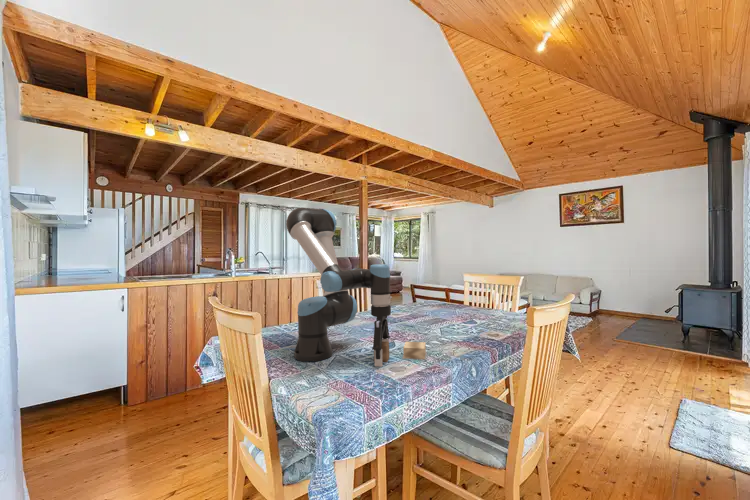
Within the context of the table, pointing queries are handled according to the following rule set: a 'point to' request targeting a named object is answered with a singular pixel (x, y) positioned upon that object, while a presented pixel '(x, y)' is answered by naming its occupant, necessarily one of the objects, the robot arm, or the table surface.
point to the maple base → (415, 350)
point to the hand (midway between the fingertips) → (382, 361)
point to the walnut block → (384, 352)
